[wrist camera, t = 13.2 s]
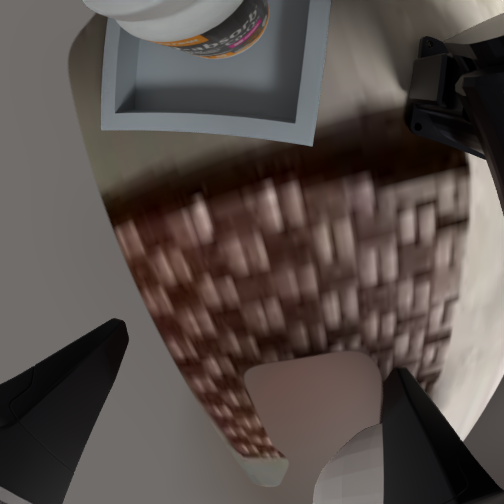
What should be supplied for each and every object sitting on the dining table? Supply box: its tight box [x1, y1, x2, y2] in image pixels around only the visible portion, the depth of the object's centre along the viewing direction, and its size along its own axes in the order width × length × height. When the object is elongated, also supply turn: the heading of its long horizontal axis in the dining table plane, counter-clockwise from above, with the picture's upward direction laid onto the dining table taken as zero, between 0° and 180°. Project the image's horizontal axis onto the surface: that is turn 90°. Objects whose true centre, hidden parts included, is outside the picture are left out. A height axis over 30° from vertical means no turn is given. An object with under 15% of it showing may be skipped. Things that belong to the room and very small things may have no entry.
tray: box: [101, 0, 331, 146], centre depth 12 cm, size 12×14×3 cm
